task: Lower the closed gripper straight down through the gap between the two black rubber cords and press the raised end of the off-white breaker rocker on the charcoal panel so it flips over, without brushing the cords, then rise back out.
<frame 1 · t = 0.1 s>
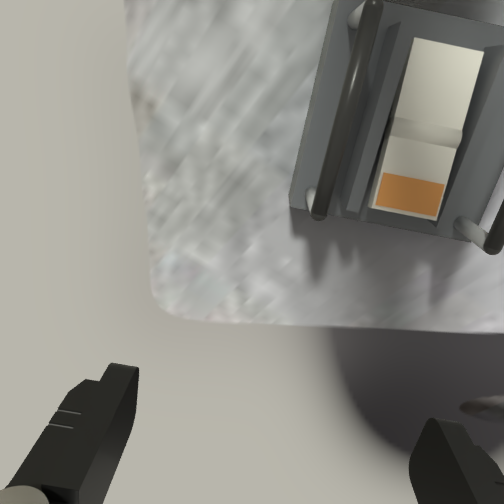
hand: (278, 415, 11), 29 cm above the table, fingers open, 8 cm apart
breaker paddle: (422, 133, 30), point 6 cm above the table, hinge at -12.0°
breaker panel: (398, 125, 36), on the table
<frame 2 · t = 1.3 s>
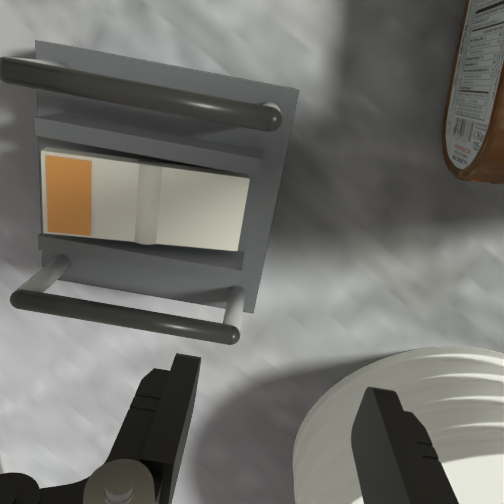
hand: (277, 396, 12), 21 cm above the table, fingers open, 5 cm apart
tin: (468, 56, 27), on the table
plate stack: (429, 457, 42), on the table
breaker paddle: (148, 202, 26), point 6 cm above the table, hinge at -12.0°
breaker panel: (170, 180, 31), on the table
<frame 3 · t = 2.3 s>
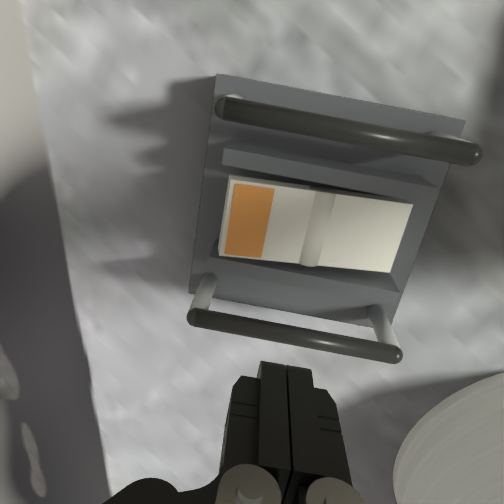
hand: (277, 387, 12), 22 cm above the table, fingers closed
breaker paddle: (314, 226, 27), point 6 cm above the table, hinge at -12.0°
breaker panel: (308, 200, 33), on the table
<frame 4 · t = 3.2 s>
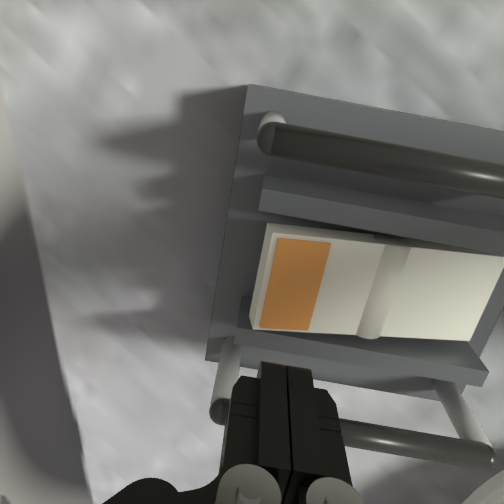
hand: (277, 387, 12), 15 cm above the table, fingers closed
breaker paddle: (377, 286, 20), point 6 cm above the table, hinge at -12.0°
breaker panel: (354, 241, 26), on the table
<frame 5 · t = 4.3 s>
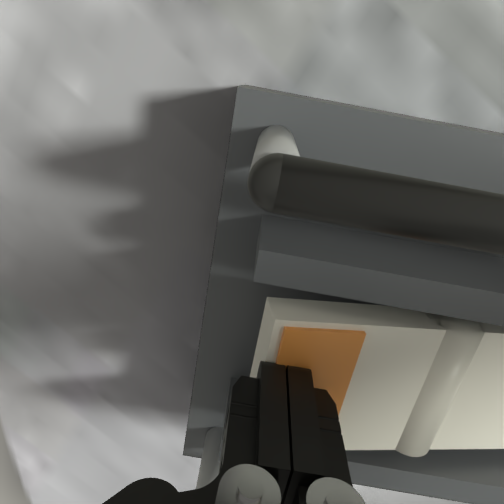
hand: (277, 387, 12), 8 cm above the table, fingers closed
breaker paddle: (427, 381, 14), point 6 cm above the table, hinge at -11.8°, touching gripper
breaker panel: (382, 293, 20), on the table
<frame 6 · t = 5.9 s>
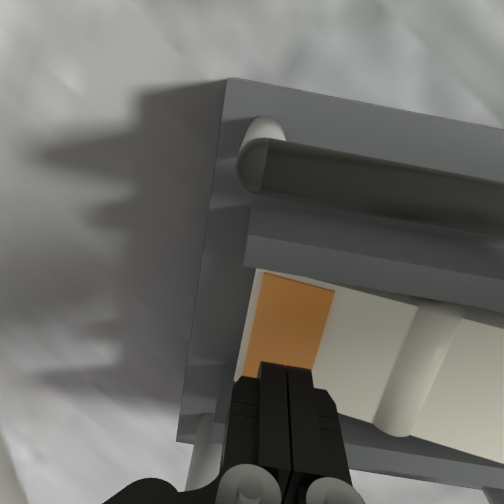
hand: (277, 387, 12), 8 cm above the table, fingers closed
breaker paddle: (411, 364, 14), point 6 cm above the table, hinge at 11.3°
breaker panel: (370, 283, 20), on the table
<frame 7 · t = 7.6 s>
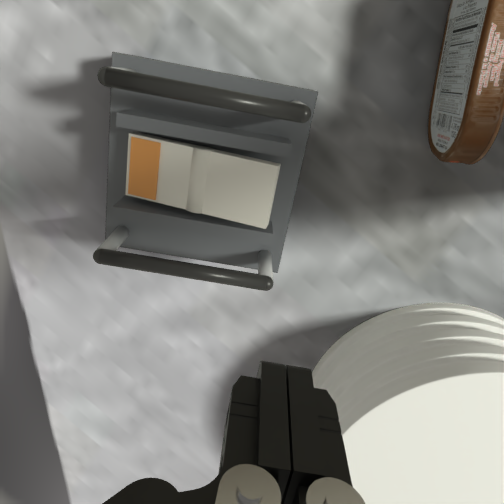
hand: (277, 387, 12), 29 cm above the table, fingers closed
tin: (447, 64, 35), on the table
plate stack: (418, 401, 50), on the table
breaker paddle: (200, 179, 32), point 6 cm above the table, hinge at 11.9°
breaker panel: (208, 164, 38), on the table
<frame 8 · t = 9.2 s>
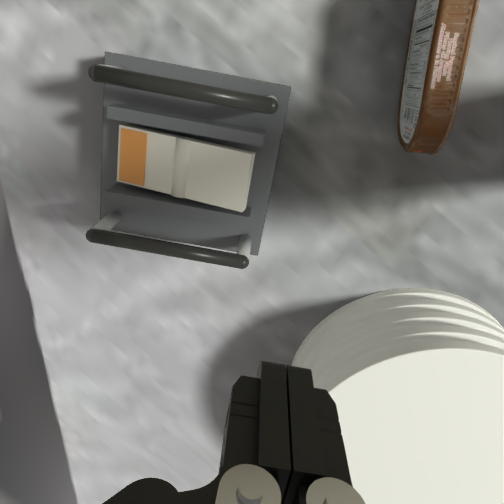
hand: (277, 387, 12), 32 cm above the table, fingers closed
tin: (415, 62, 38), on the table
plate stack: (398, 384, 52), on the table
breaker paddle: (183, 167, 36), point 6 cm above the table, hinge at 11.9°
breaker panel: (195, 155, 41), on the table
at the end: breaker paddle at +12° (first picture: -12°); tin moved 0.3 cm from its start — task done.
